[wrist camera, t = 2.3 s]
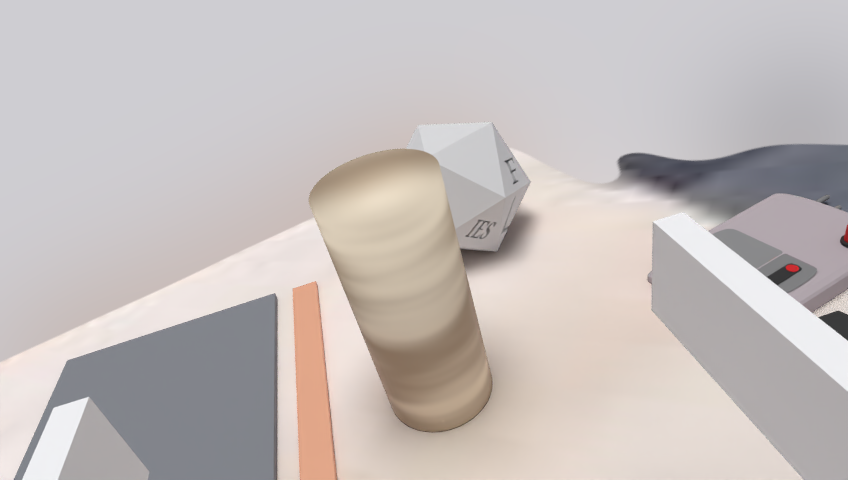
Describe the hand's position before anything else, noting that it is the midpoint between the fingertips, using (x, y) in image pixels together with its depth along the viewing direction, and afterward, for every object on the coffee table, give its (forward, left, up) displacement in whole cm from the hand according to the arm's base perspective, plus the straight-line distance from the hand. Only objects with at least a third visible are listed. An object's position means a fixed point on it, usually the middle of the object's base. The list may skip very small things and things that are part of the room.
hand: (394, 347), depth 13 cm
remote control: (+11, -20, -13) cm, 26 cm away
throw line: (+12, +6, -13) cm, 18 cm away
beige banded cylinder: (+10, -1, -13) cm, 16 cm away
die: (+22, -6, -13) cm, 26 cm away
